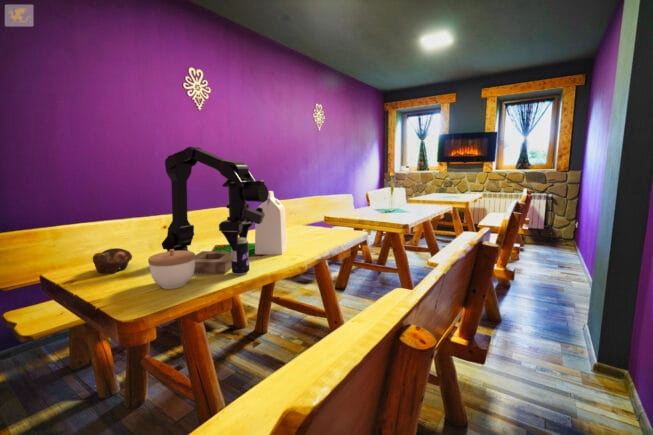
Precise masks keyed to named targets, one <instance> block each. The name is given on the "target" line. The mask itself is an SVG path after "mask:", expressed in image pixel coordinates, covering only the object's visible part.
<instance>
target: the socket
mask: <svg viewBox="0 0 653 435" xmlns="http://www.w3.org/2000/svg"><path fill="white" fill-rule="evenodd" d="M230 270H232V261H231V250H230V251H224V250H222V251H221V250H218V251H217V250H215V251H214V250H212V251H211V250H202V251H200V252H199V253H195V270H194V274H205V275H206V274H207V275H209V274H210V275H212V274H213V275H214V274H215V275H217V274H218V275H224V274H225V275H226V274H227V273H228V272H229V271H230Z"/></svg>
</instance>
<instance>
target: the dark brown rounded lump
mask: <svg viewBox="0 0 653 435" xmlns="http://www.w3.org/2000/svg"><path fill="white" fill-rule="evenodd" d="M132 259H133V254H132V253H131V252H130V251H129V250H126V249H123V248H119V247H117V248H115V247H114V248H108V249H106V250H104V251H102V252H96V253H95V254H93V256H92V262H93V264H94V267H95V270H96V271H97V272H98V273H99V274H103V273H104V272H106V271H108V272H109V273H111V274H115V273H117V272H118V270H126V269H127V268H128V265H129V262H130V261H131V260H132Z"/></svg>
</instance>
